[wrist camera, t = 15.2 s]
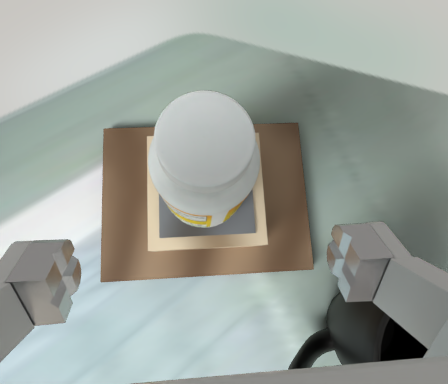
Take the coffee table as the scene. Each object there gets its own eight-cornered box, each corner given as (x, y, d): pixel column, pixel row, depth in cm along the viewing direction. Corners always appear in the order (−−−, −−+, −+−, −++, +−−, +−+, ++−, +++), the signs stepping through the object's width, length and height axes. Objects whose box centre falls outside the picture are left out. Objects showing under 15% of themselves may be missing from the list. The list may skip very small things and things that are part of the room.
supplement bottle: (176, 238, 21) (152, 222, 11) (156, 162, 22) (118, 91, 12) (253, 215, 21) (291, 183, 12) (230, 143, 22) (248, 60, 13)
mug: (251, 291, 25) (278, 314, 15) (393, 259, 26) (500, 261, 16) (276, 406, 23) (323, 508, 14) (426, 366, 24) (564, 435, 15)
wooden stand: (105, 281, 24) (83, 286, 20) (107, 133, 26) (88, 110, 22) (309, 268, 25) (330, 271, 21) (294, 127, 27) (310, 104, 23)
